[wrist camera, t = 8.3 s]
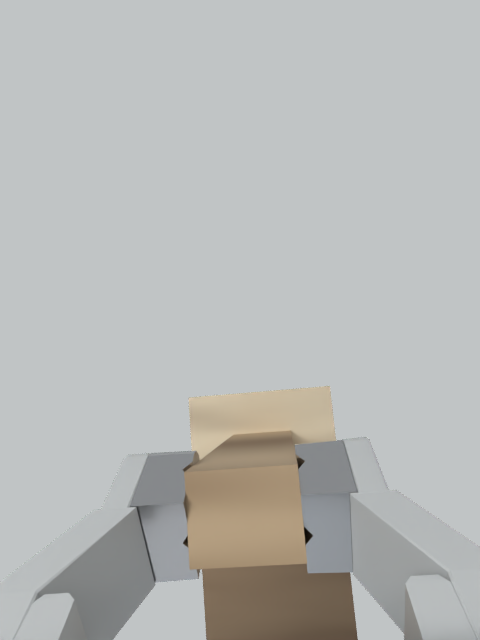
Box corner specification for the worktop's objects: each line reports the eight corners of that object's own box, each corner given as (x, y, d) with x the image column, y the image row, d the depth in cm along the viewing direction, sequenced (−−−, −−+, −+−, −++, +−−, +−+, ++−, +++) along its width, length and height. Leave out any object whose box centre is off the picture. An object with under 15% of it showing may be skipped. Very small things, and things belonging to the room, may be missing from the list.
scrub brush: (398, 558, 8) (374, 376, 8) (104, 574, 8) (100, 399, 8) (322, 451, 22) (315, 389, 23) (221, 458, 23) (216, 397, 23)
